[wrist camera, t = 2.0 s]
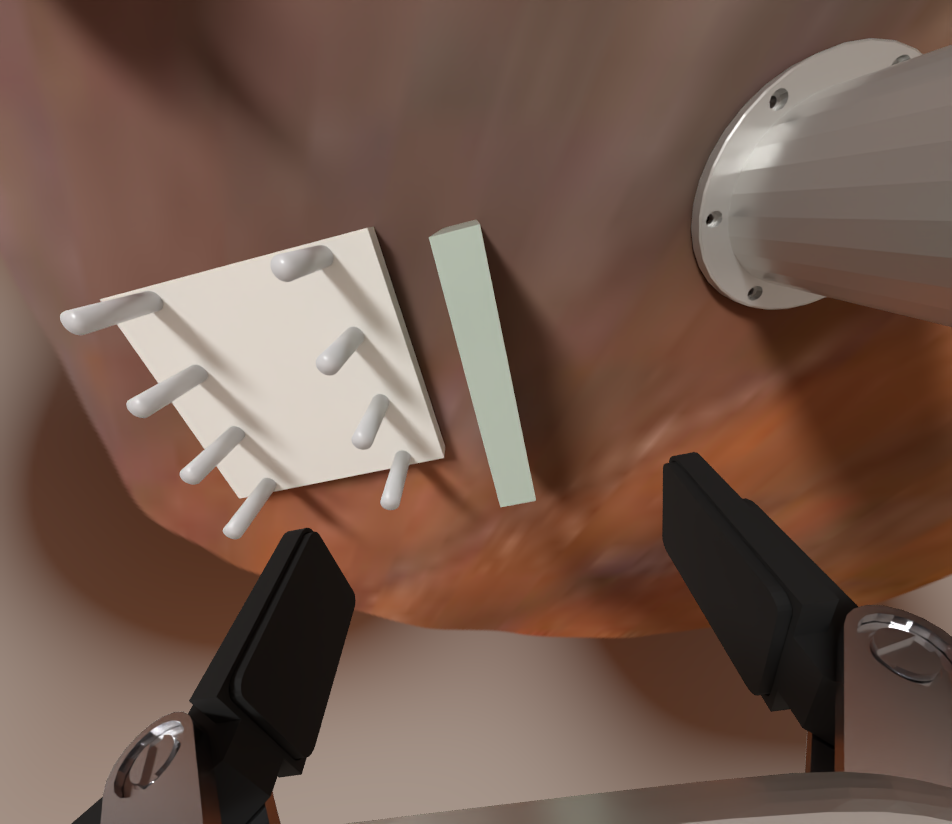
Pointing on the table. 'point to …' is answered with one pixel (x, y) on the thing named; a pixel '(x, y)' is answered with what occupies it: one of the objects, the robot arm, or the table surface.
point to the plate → (483, 356)
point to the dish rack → (282, 369)
